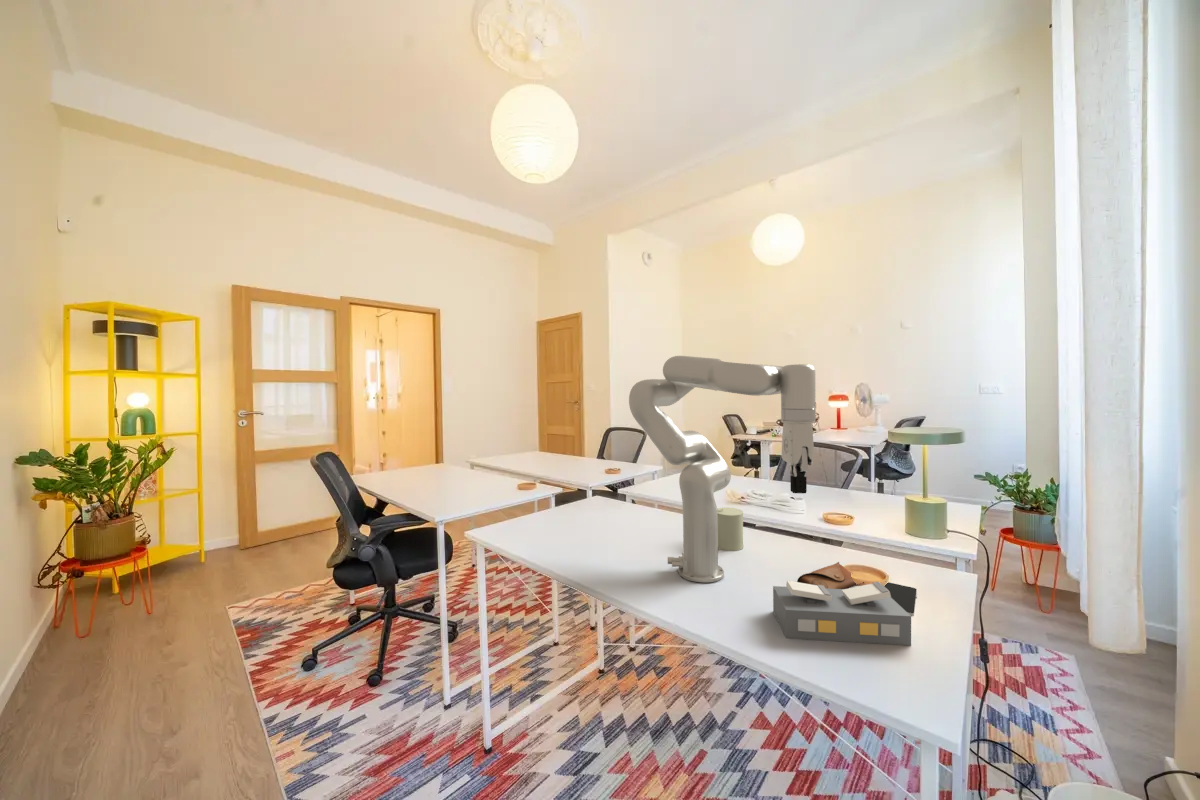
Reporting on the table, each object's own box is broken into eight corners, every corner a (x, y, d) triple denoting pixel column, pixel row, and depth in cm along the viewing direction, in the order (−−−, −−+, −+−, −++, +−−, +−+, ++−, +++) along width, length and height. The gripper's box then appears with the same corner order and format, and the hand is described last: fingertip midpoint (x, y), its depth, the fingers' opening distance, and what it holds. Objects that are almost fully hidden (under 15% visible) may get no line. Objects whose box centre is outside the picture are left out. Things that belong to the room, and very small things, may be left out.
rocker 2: (851, 604, 94) (849, 598, 94) (843, 595, 98) (841, 588, 98) (891, 597, 92) (889, 590, 92) (880, 587, 97) (879, 581, 97)
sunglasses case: (827, 599, 108) (814, 571, 111) (805, 604, 113) (793, 577, 116) (867, 582, 118) (854, 556, 120) (844, 586, 123) (832, 562, 126)
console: (786, 638, 92) (786, 607, 92) (773, 611, 103) (773, 583, 103) (911, 646, 89) (911, 613, 89) (884, 617, 100) (884, 588, 100)
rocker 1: (791, 594, 95) (792, 588, 95) (786, 585, 100) (787, 579, 99) (831, 601, 94) (831, 595, 94) (823, 591, 98) (824, 585, 98)
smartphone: (873, 603, 105) (879, 580, 117) (873, 608, 105) (879, 584, 117) (914, 613, 100) (917, 588, 112) (914, 619, 100) (917, 593, 112)
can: (713, 540, 151) (712, 505, 151) (740, 541, 150) (740, 506, 150) (716, 550, 142) (716, 513, 142) (746, 551, 141) (745, 514, 140)
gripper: (773, 414, 113) (774, 485, 114) (790, 418, 99) (790, 500, 99) (804, 414, 112) (805, 485, 113) (826, 418, 97) (826, 500, 98)
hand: (798, 492), depth 106 cm, fingers closed
